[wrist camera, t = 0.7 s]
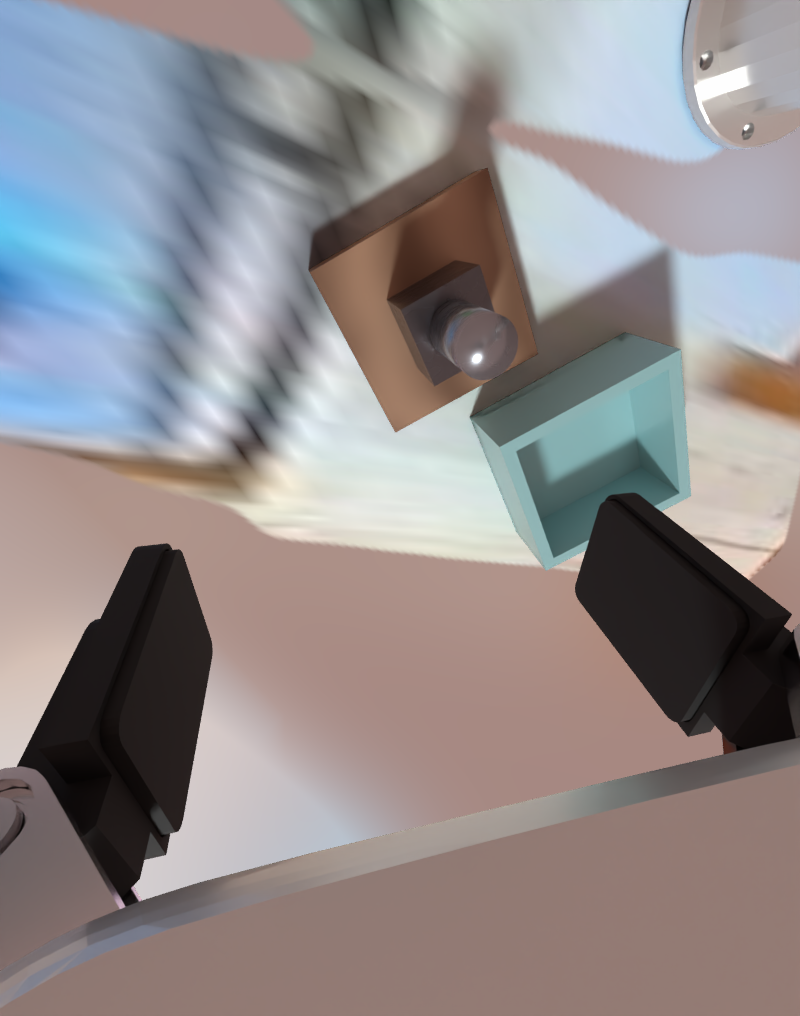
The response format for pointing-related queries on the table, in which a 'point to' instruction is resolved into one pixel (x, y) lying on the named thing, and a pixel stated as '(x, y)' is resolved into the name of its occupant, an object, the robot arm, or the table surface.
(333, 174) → the table surface
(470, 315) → the square base knob
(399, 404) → the stud plate
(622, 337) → the bin
